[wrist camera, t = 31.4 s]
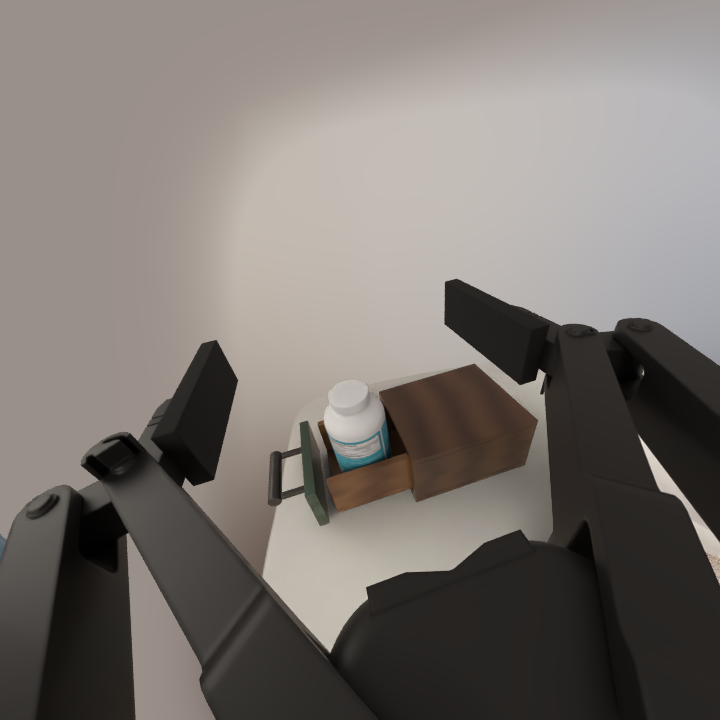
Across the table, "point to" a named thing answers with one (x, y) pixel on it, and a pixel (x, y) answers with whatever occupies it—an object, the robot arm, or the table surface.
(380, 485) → the drawer
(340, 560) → the table surface
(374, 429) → the pill bottle
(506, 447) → the cabinet
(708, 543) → the bowl
